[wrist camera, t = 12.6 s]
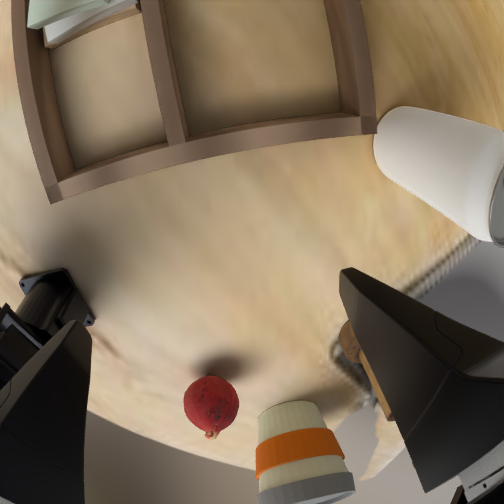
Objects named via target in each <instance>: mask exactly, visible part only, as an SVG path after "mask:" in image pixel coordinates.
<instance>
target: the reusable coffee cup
mask: <svg viewBox="0 0 504 504" xmlns="http://www.w3.org/2000/svg"><path fill="white" fill-rule="evenodd" d="M258 436H259V445H258V447H257V448H256V478H257V479H258V480H259V494H258V496H257V498H258V501H259V504H331V503H334V502H337V501H339V500H342V499H344V498H347V497H349V496H350V495H352V494H354V493H355V486H354V480H353V475H352V473H350V472H349V471H348V470H347V467H346V465H345V463H344V461H343V460H344V458H345V457H344V454H343V452H342V450H341V448H340V446H339V444H338V442H337V440H336V438H335V436H334V434H333V432H332V431H331V430H330V429H328V428H327V426H326V424H325V422H324V420H323V418H322V416H321V414H320V412H319V410H318V408H317V406H316V405H315V404H314V403H312V402H309V401H291V402H286V403H282V404H279V405H276V406H273V407H271V408H269V409H267V410H266V411H264V412H263V413H262V414H261V415H260V416H259V419H258Z"/></svg>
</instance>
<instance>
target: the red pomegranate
mask: <svg viewBox="0 0 504 504" xmlns="http://www.w3.org/2000/svg"><path fill="white" fill-rule="evenodd" d="M238 408H239V399H238V396H237V393H236V391H235V389H234V388H233V386H232V385H231V384H230V383H229V382H227V381H226V380H224V379H222V378H220V377H216V376H212V375H208V376H205V377H202V378H200V379H198V380H197V381H195V382H193V383H192V384H191V385H190V386H189V388H188V389H187V391H186V392H185V395H184V411H185V413H186V416H187V417H188V419H189V420H190V421H191V422H192V423H193V424H194V425H195V426H197V427H198V428H199V429H201V430H203V431H205V432H206V434H205V437H207V438H208V439H210V440H212V439H216V437H217V436H218V434H219V432H220V431H221V430H223V429H225V428H226V427H228V426H229V425H230V424H231V423H232V422H233V421H234V419H235V417H236V415H237V412H238Z"/></svg>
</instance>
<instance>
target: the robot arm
mask: <svg viewBox="0 0 504 504" xmlns="http://www.w3.org/2000/svg"><path fill="white" fill-rule="evenodd" d="M62 273H63V274H64V275H63V274H62ZM19 285H20V287H21V289H22V291H23V292H24V294H25V298H24V299H23V301H22V302H21V304H20V306H19V307H18V309H17V310H16V312H14V311H13V310H12V309H11V308H10V306H9V305H8V304H7V303H5V304H4V306H3V307H2V308H1V307H0V504H85V497H84V444H85V426H86V414H87V413H86V412H87V403H88V394H89V385H90V374H91V353H92V337H91V335H90V333H89V332H88V330H87V329H86V326H92V325H93V324H94V322H95V320H94V318H93V316H92V314H91V313H90V311H89V309H88V307H87V306H86V304H85V302H84V300H83V299H82V297H81V295H80V293H79V291H78V290H77V288H76V286H75V284H74V282H73V280H72V279H71V277H70V275H69V273H68V271H67V270H66V269H64V268H61V269H57V270H53V271H49V272H45V273H41V274H37V275H33V276H29V277H26V278H22V279H21V280H20V281H19ZM339 293H340V297H341V299H342V302H343V305H344V307H345V310H346V313H347V316H348V318H349V321H350V324H351V327H352V329H353V332H354V335H355V337H356V339H357V341H358V343H359V345H360V347H361V349H362V351H363V353H364V355H365V357H366V359H367V361H368V363H369V365H370V367H371V369H372V372H373V374H374V376H375V378H376V380H377V382H378V384H379V386H380V388H381V391H382V393H383V395H384V397H385V399H386V401H387V404H388V406H389V408H390V410H391V412H392V415H393V417H394V419H395V421H396V424H397V426H398V428H399V431H400V433H401V435H402V438H403V440H404V443H405V445H406V447H407V450H408V452H409V455H410V457H411V459H412V462H413V464H414V467H415V469H416V471H417V474H418V477H419V479H420V482H421V484H422V487H423V490H424V492H425V493H427V492H429V491H431V490H433V489H435V488H437V487H439V486H440V485H442V484H444V483H445V482H447V481H449V480H451V479H453V478H454V477H456V476H457V475H459V478H460V480H461V483H462V485H461V486H459V487H457V490H456V492H455V494H454V497H453V499H452V501H451V504H504V342H502V341H499V340H497V339H495V338H493V337H490V336H488V335H486V334H483V333H481V332H479V331H476V330H474V329H472V328H470V327H468V326H465V325H463V324H461V323H459V322H457V321H455V320H453V319H451V318H449V317H447V316H445V315H443V314H441V313H440V312H438V311H434V309H432V308H430V307H428V306H426V305H424V304H423V303H421V302H419V301H417V300H415V299H413V298H411V297H409V296H408V295H406V294H404V293H402V292H400V291H398V290H396V289H394V288H392V287H390V286H388V285H386V284H385V283H383V282H381V281H379V280H377V279H375V278H373V277H371V276H369V275H367V274H365V273H363V272H361V271H359V270H357V269H355V268H353V267H350V268H346V269H342V270H341V271H340V276H339ZM89 320H90V321H89Z"/></svg>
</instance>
